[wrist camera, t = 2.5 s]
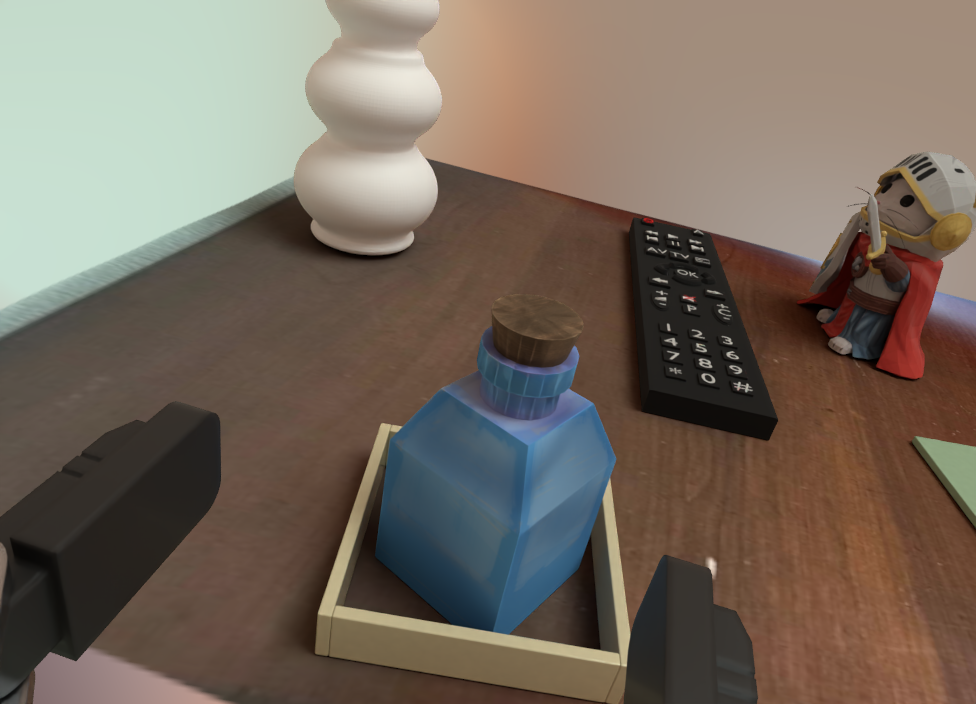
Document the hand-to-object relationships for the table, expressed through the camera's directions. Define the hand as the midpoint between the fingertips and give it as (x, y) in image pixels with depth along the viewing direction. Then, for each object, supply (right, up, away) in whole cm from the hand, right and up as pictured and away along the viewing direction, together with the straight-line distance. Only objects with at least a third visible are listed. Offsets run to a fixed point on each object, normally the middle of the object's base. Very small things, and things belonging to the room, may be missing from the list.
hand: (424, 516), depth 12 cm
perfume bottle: (+1, -6, +18) cm, 19 cm away
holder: (+1, -6, +18) cm, 19 cm away
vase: (-9, +12, +44) cm, 47 cm away
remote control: (+16, +6, +44) cm, 47 cm away
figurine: (+30, +4, +45) cm, 54 cm away
